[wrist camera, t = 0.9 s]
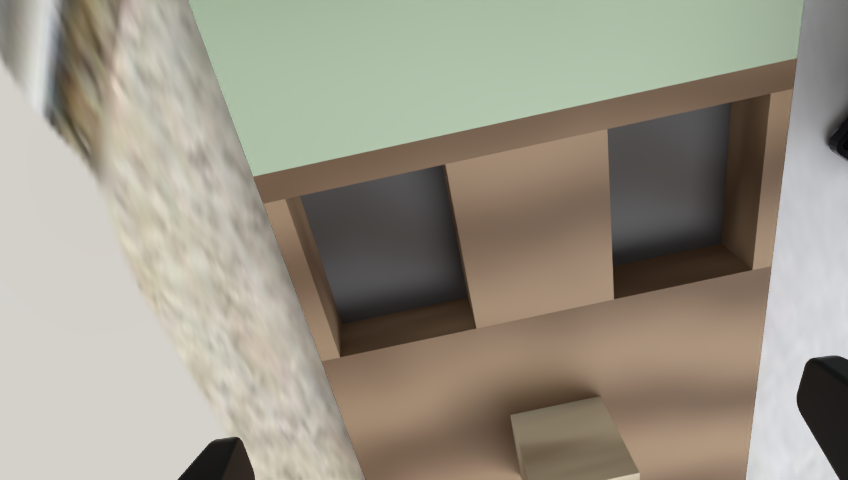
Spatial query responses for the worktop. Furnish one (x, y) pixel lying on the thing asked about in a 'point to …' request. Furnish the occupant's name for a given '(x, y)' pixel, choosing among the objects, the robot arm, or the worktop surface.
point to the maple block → (571, 443)
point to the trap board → (548, 278)
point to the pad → (459, 63)
